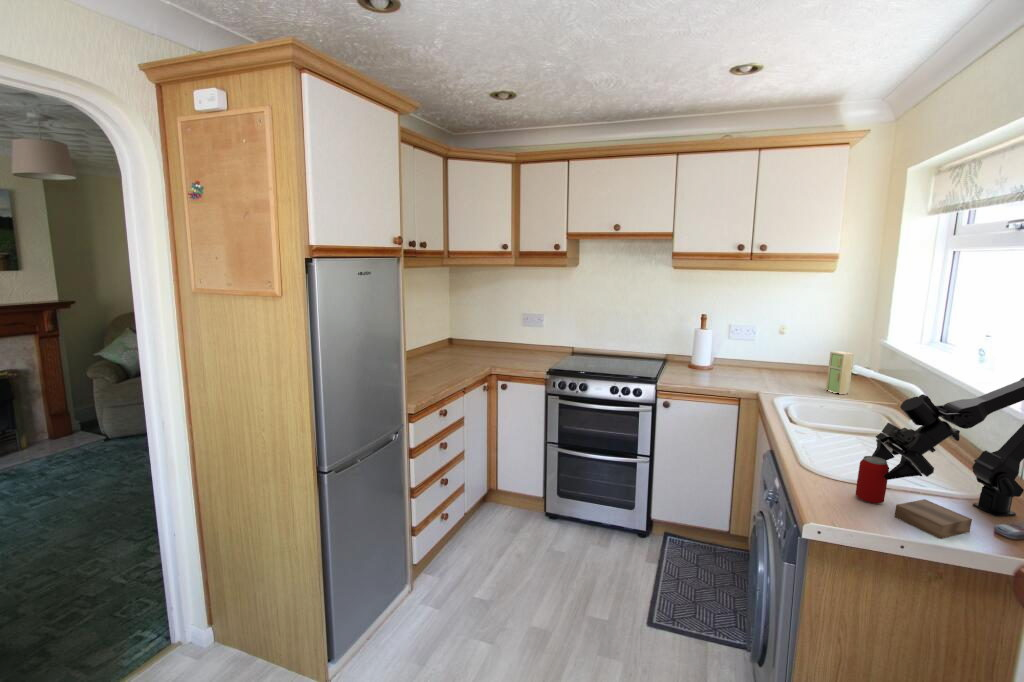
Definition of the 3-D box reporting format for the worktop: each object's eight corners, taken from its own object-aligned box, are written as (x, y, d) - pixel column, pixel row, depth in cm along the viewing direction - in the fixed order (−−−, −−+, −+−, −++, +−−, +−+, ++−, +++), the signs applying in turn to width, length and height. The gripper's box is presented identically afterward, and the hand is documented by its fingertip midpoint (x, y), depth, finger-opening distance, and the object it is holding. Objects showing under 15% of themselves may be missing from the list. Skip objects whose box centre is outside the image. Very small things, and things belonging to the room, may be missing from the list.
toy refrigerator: (824, 391, 266) (829, 351, 262) (834, 390, 268) (840, 350, 265) (837, 395, 258) (843, 354, 255) (848, 394, 261) (854, 353, 257)
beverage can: (885, 499, 146) (891, 459, 144) (882, 508, 141) (888, 466, 139) (857, 492, 150) (862, 452, 148) (852, 499, 145) (858, 459, 143)
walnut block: (922, 511, 139) (924, 499, 139) (969, 532, 129) (972, 519, 129) (894, 517, 136) (896, 504, 135) (940, 538, 126) (942, 525, 125)
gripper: (888, 405, 149) (841, 438, 153) (928, 426, 131) (874, 463, 135) (913, 433, 149) (866, 466, 153) (957, 458, 131) (903, 494, 135)
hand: (876, 471), depth 144 cm, fingers open, 9 cm apart
